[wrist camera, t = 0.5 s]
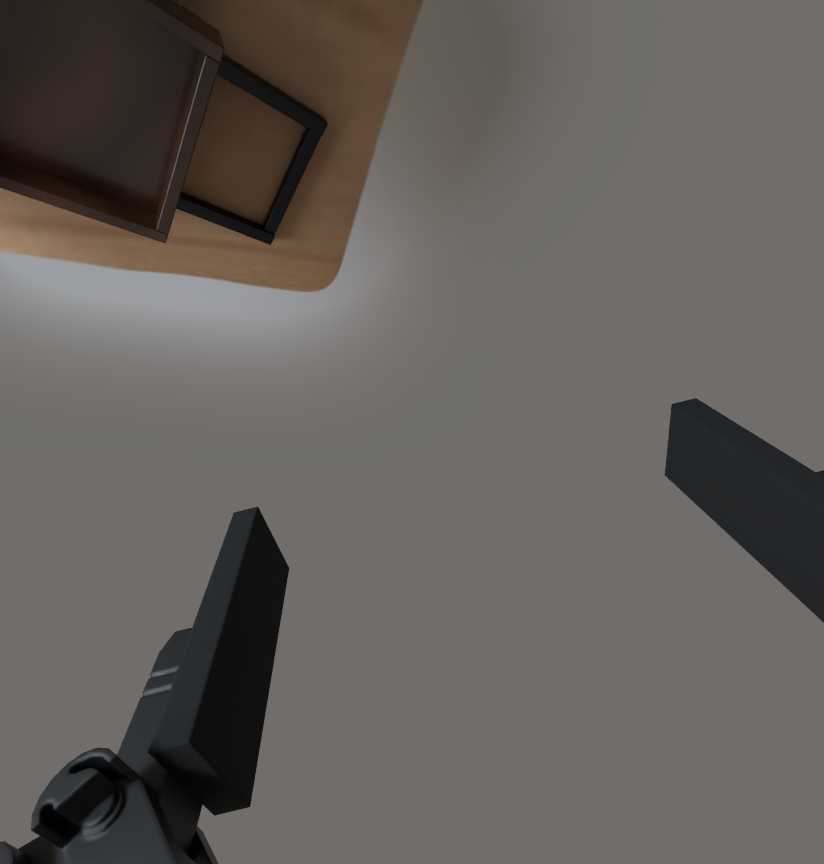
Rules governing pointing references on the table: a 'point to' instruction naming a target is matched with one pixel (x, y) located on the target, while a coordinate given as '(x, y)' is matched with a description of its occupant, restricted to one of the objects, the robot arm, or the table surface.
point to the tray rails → (295, 170)
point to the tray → (104, 105)
